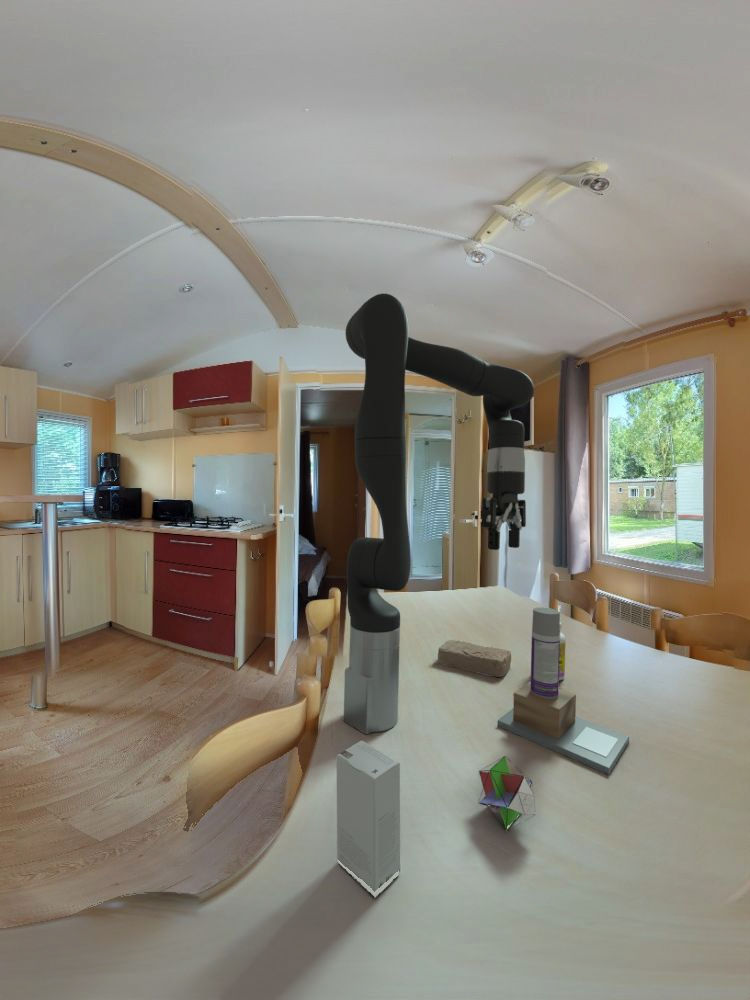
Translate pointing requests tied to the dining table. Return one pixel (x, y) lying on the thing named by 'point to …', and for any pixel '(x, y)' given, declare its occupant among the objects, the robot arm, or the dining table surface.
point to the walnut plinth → (545, 711)
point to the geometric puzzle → (507, 792)
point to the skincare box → (368, 813)
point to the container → (545, 653)
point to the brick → (475, 658)
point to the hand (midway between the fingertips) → (504, 548)
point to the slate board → (577, 741)
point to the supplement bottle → (562, 656)
